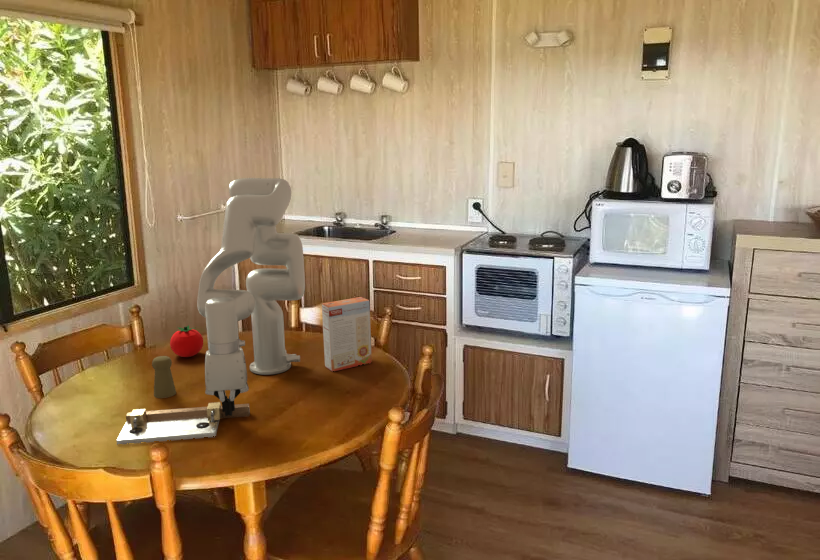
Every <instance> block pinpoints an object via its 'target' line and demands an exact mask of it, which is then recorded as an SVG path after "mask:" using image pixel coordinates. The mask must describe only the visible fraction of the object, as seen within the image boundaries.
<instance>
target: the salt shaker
mask: <svg viewBox="0 0 820 560" xmlns="http://www.w3.org/2000/svg"><path fill="white" fill-rule="evenodd" d="M172 363H173V362H172V359H171V358H170V356H167V355H160V356H156V357H154V358H153V360H152V362H151V366H152V368H153V370H154V382H153V383H154V384H153V397H154V398H156V399H165V398H171V397H173V396H175V395H176V394H177V390H176V387H175V386H176V385H175V382H174V378H173V374H172V369H171V367H172V365H173V364H172Z"/></svg>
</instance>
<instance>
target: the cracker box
mask: <svg viewBox="0 0 820 560" xmlns="http://www.w3.org/2000/svg"><path fill="white" fill-rule="evenodd" d="M370 304H371V303H370V300H369V299H367V298H365V297H362V296H359V297H352V298H347V299H342V300H336V301H335V300H334V301H328V302H323V303H321V316H322V319H321V320H322V336H323V353H324V367H325V368H327V370H329V371H331V372H333V371H334V372H338V371H341V370H346V369H350V368H354V367H359V366H358V365H360V366H363V365H362V364H364V365H367V364H366V363H369V364H372V363H371V362H372V335H371V334H372V333H371V331H372V330H371V313H370V312H371V307H370ZM334 372H333V373H334Z"/></svg>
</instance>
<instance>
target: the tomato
mask: <svg viewBox="0 0 820 560" xmlns="http://www.w3.org/2000/svg"><path fill="white" fill-rule="evenodd" d="M178 329H179V330H178ZM169 341H170V342H169V346H170V349H171V351H172V352H173V353H174V354H175V355H177V356H179V357H182V358H190V357H194V356H196V355H198V354H199V353H200V351H201V350H202V349H203V347H204V337H203V335H202V334H201V333H200V332H199V331H198V330H197V329H195V327H191V328H190V325H189V324H188V325H187V326H184V327H183V328H182V327H180V326H179V327H178V326H177V330H176V331H175V332H174V333H173V334H172V335H171V338H170V340H169Z"/></svg>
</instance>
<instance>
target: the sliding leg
mask: <svg viewBox="0 0 820 560" xmlns="http://www.w3.org/2000/svg"><path fill="white" fill-rule="evenodd" d="M221 406H222V402H221V401H218V402H208V404H207V406H206V407H207V417H208V421H209V420H211V422H214V420H219V421H220V420H221V419H222V418H221Z"/></svg>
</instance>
